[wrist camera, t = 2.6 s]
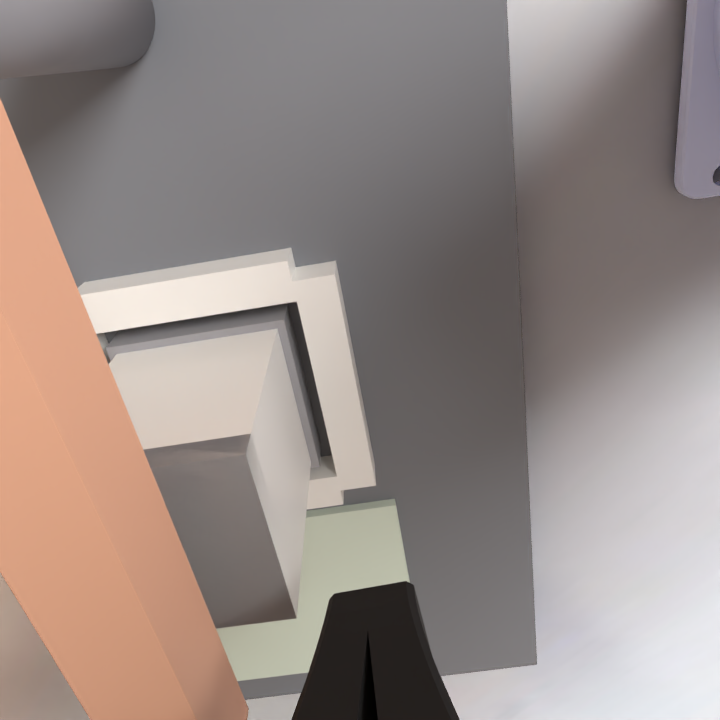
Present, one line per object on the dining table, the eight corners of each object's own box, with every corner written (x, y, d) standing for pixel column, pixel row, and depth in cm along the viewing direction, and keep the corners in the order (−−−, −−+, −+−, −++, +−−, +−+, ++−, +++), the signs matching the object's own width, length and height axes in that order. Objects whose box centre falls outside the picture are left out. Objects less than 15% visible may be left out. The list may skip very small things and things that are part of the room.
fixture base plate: (486, -180, 12) (510, -220, 10) (529, 640, 23) (544, 690, 21) (-276, -22, 13) (-377, -33, 11) (119, 690, 24) (101, 742, 22)
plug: (287, 303, 15) (254, 442, 10) (321, 445, 17) (308, 624, 12) (119, 331, 15) (-1, 480, 10) (171, 467, 18) (94, 651, 12)
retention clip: (136, -58, 12) (-228, -231, 4) (288, 488, 18) (246, 798, 10) (36, -37, 12) (-484, -174, 4) (222, 497, 18) (134, 810, 11)
